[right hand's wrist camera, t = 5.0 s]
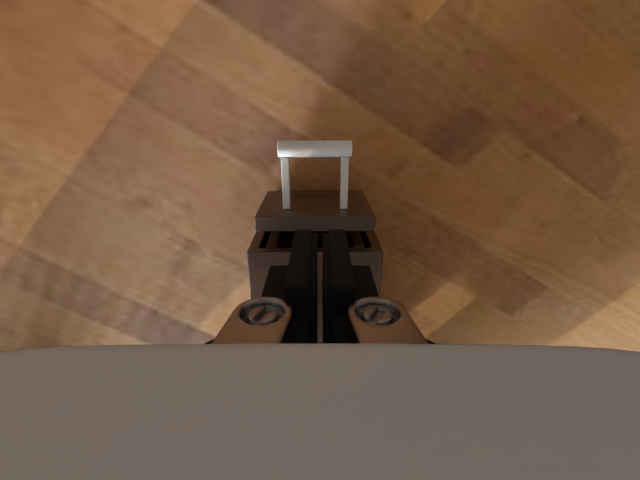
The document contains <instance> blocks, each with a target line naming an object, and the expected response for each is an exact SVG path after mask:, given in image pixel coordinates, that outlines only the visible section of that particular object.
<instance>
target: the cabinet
mask: <svg viewBox="0 0 640 480" xmlns="http://www.w3.org/2000/svg"><path fill="white" fill-rule="evenodd" d="M359 232H360V235H361V238H362V242H363V245H364V248H349V254H350V259H351V264H352V265H369V266H370V268H371V271H372V275H373V278H374V281H375V285H376V288H377V292H378V295H379V297H380V291H381V277H382V263H383V250H382V248H381V246H380V244H379V241H378V239H377V237H376V235H375V232H374V231H359ZM270 234H271V231H263V232H256V234H255V236H254V238H253V241H252V243H251V245H250V247H249V249H248V251H247V259H248V271H249V283H250V295H251V299H253V298H258V297H261V295H262V292H263V288H264V285H265V281H266V278H267V275H268V271H269V268H270V266H271V265H288V264H289V259H290V254H291V248H266V246H267V243H268V240H269V237H270ZM317 249H318V325H317V344H323V325H322V249H323V248H317Z"/></svg>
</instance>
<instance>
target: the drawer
mask: <svg viewBox="0 0 640 480" xmlns="http://www.w3.org/2000/svg"><path fill="white" fill-rule="evenodd" d="M277 153H278V157H281V176H282V191H268V193H267V195H266V196H265V198H264V200H263V202H262V204H261V206H260V208H259V210H258V212H257V214H256V216H255V229H256V231H257V232H263V231H271V234H270V237H269V240H268V243H267V246H266V248H292V243H293V238H294V233H295V229H311V233H317V248H323V233H329V229H345V233H346V238H347V243H348V248H364V245H363V242H362V238H361V235H360V232H359V231H374V230H375V215H374V213H373V211H372V209H371V207H370V205H369V203H368V201H367V199H366V198H365V196H364V194H363V192H362V191H348V176H349V157H352V140H278V142H277ZM289 157H341V170H340V191H290V171H289Z"/></svg>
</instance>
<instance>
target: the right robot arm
mask: <svg viewBox="0 0 640 480" xmlns="http://www.w3.org/2000/svg"><path fill="white" fill-rule="evenodd" d="M317 325H318V249H317V233H311V229H295V233H294V238H293V243H292V248H291V254H290V259H289V264H288V265H271V266H270V268H269V271H268V275H267V278H266V281H265V285H264V288H263V292H262V295H261V297H258V298H253V299H250V300H247V301H245V302H243V303H241V304H240V305H238V306H237V307H236V308H235V309H234V311H233V312H232V314H231V315H230V317H229V318H228V320H227V321H226V323H225V324H224V326H223V327H222V329H221V330H220V332H219V333H218V335H217V336H216V337H215V339H213V340H211V341H209V342H207V343H205V344H167V345H102V346H69V347H48V348H34V349H21V350H13V351H5V352H0V480H640V352H635V351H627V350H618V349H608V348H591V347H574V346H536V345H477V344H435V343H433V342H431V341H429V340H427V339H425V337H424V336H423V335H422V333H421V332H420V330H419V329H418V327H417V326H416V324H415V323H414V321H413V320H412V318H411V317H410V315H409V314H408V312H407V311H406V309H405V308H404V307H403V306H402V305H400V304H399V303H397V302H395V301H393V300H390V299H387V298H382V297H379V295H378V292H377V288H376V285H375V281H374V278H373V275H372V271H371V268H370V266H369V265H352V264H351V259H350V254H349V248H348V243H347V238H346V233H345V229H329V233H323V249H322V325H323V344H317Z"/></svg>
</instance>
